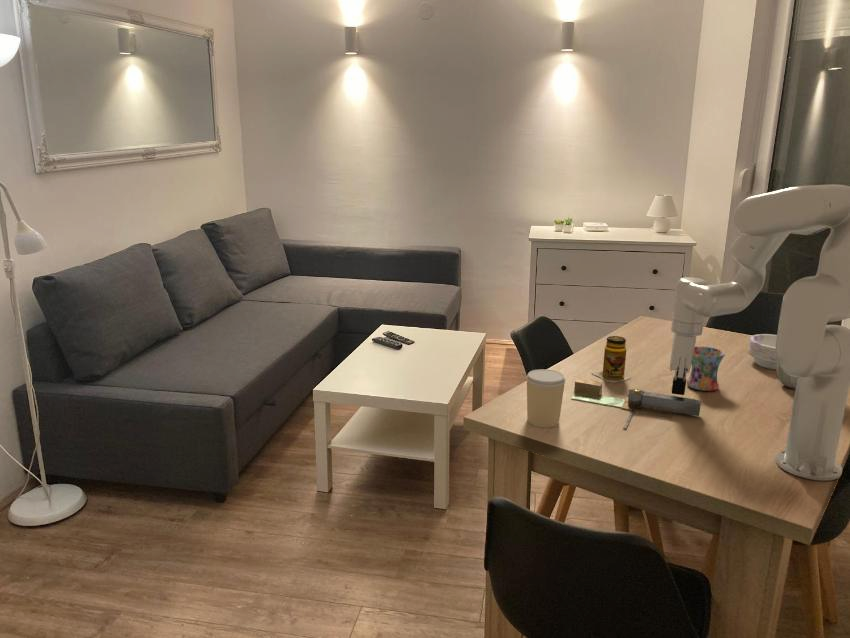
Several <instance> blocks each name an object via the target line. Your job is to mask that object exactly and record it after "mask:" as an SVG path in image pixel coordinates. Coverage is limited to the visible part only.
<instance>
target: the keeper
mask: <svg viewBox="0 0 850 638" xmlns="http://www.w3.org/2000/svg"><path fill="white" fill-rule="evenodd" d="M602 388H603V382H601V381H595V380H589V379H583V378H576V379H575V381H574V388H573V389H574V391H573V393H574V394H573V395H572V396H571V397H570V399H571V400H573V401H580V402H585V403H591V404H596V405H603V406H607V407H608V406H609V407H613V408H619V409H621V407H622V405H623V403H624V401H625V399H626V398H625V399H624V398H618V397H614V396H613V397H612V396H606V395H602V392H603V391H602Z"/></svg>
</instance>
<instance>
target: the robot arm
mask: <svg viewBox="0 0 850 638" xmlns="http://www.w3.org/2000/svg"><path fill="white" fill-rule="evenodd" d="M732 222H733V227H734V229H735V230H736V231H737V232H738V233H739V234H738V235H737V237H736V238H735V240H734V241H733V242H732V243H731V246H730V250H729V252H730V255H731V257H732V258H733V259H734V260H735V261H736V262H737V263H738V264H739V265H741V267H740V268H739V270H738V272H737V273H736V275H735V276H734V277H733V279H732V280H731V281H729V282H727V283H717V284H711V285H710V284H709V283H708V281H707V280H705V279H703V278H699V277H691V276H687V277H686V276H685V277H681V278H680V279H678V281H677V283H676V287H675V288H676V289H675V295H674V302H673V310H672V318H671V319H672V320H671V325H670V332H671V333H673V334H674V335H673V340H672V347H671V356H670V362H669V371H670V372H672V371H674V376H673V378H672V386H671V394H673V395H679V396H684V395H685V392H686V386H687V378H686V377H687V374H689V373H691V369H692V360H693V355H694V349H695V347H696V341H697V337H699V336H702V334H703V329H704V322H705V318H712V317H719V316H724V315H731V314H738V313H739V312H742V311H743V310H745V309H746V308H748V307H749V305H751V303H752V302H753V301H754V300H755V298H756V297H757V296H758V294H759V293H760V292H761V291H762V289H763V287H764V284H765V281H766V280H765V279H766V275H767V270H766V269H767V268H766V266H767V264H768V262H769V261H770V260H771V259H772V257H773V256H774V254H775V253H776V252H777V251H778V250H779V248H780V247H781V245H782V244H783V243H784V242H785V240H786V239H787V238H788V237H789V235H790V234H791V232H792V231H799V230H809V229H812V230H813V229H822V228H829V229H830V233H829V235H828V236H827V238H826V239H825V241H824V243H823V245H822V248H821V251H820V255H819V262H818V266H817V271H816V274H815V275H812V276H805V277H802V278H799V279H798V280H796V281H794V282H793V283H792V284H790V286H788V288H787V289H786V292H785V293H784V295H783V298H782V301H781V307H780V312H779V320H778V328H777V334H776V335H777V339H776V359H777V362H778V364H779V366H780V368H781V369H782V370H783V371H784V372H785V373H786V374H788V375H790V376H793V377H799V379H798V382H797V385H796V389H795V391H794V396H793V397H794V398H793V401H792V408H791V415H790V419H789V420H790V421H789V427H788V432H787V439H786V444H785V449H783V450H781V451H779V452H777V453H776V455H775V462H776V464H777V465H778V467H779V468H781V469H782V470H784V471H786V472H787V473H789V474H791V475H794V476H797V477H799V478H803V479H807V480H812V481H822V482H823V481H824V482H825V481H827V482H828V481H833V480H837V479H839V478H840V477H841V476H842V473H843V468H842V466H841V465H840V463H839V462H837V461H836V460H837V459H836V458H837V452H838V447H839V443H840V438H841V432H842V427H843V420H844V416H845V413H846V406H847V403H848V397H849V391H850V328H849V327H846V326H843V325H839V324H829V323H834V322H841V321H843V320H849V319H850V185H845V184H834V183H833V184H831V183H830V184H817V185H816V184H815V185H813V184H812V185H811V184H810V185H800V186H799V185H798V186H791V187H788V188H784V189H783V188H782V189H778V190H774V191H771V192H766V193H762V194H757V195H752V196H748V197H747V198H745V199H744V200H742V201H741V202H740V203H739V204H738V205H737V206H736V208H735V210H734V213H733V217H732Z"/></svg>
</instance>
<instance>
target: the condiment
mask: <svg viewBox="0 0 850 638" xmlns="http://www.w3.org/2000/svg"><path fill="white" fill-rule="evenodd" d="M626 342H627V340H626V338H625V337H622V336H619V335H610V336H607V337H606V343H605V344H606V345H605V347H604V352H603V353H604V354H603V363H602V364H603V365H602V371H599V372H598V371H597V372H593V373H592V375H594V376H597V377H598V378H601V379H602V380H605V381H607V382H609V383H612V384H613V383H618V382H623V381H625V380H629V379H630V377H629V376H626V375H625V370H626V361H627V360H626V359H627V348H626Z"/></svg>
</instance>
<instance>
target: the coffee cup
mask: <svg viewBox="0 0 850 638" xmlns="http://www.w3.org/2000/svg"><path fill="white" fill-rule="evenodd" d="M565 384H566V378H565V374H563V373H562V372H559V371H557V370H554V369H547V368H546V369H542V368H541V369H533V370H530V371H529V372H528V373H527V375H526V411H527V412H526V413H527V414H526V417H527V421H528V423H529V424H530V425H532V426H533V427H534V426H535V427H539V428H553V427H556V426H558V425H559V423H560V417H561V412H562V405H563V397H564V392H565V391H564V390H565Z"/></svg>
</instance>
